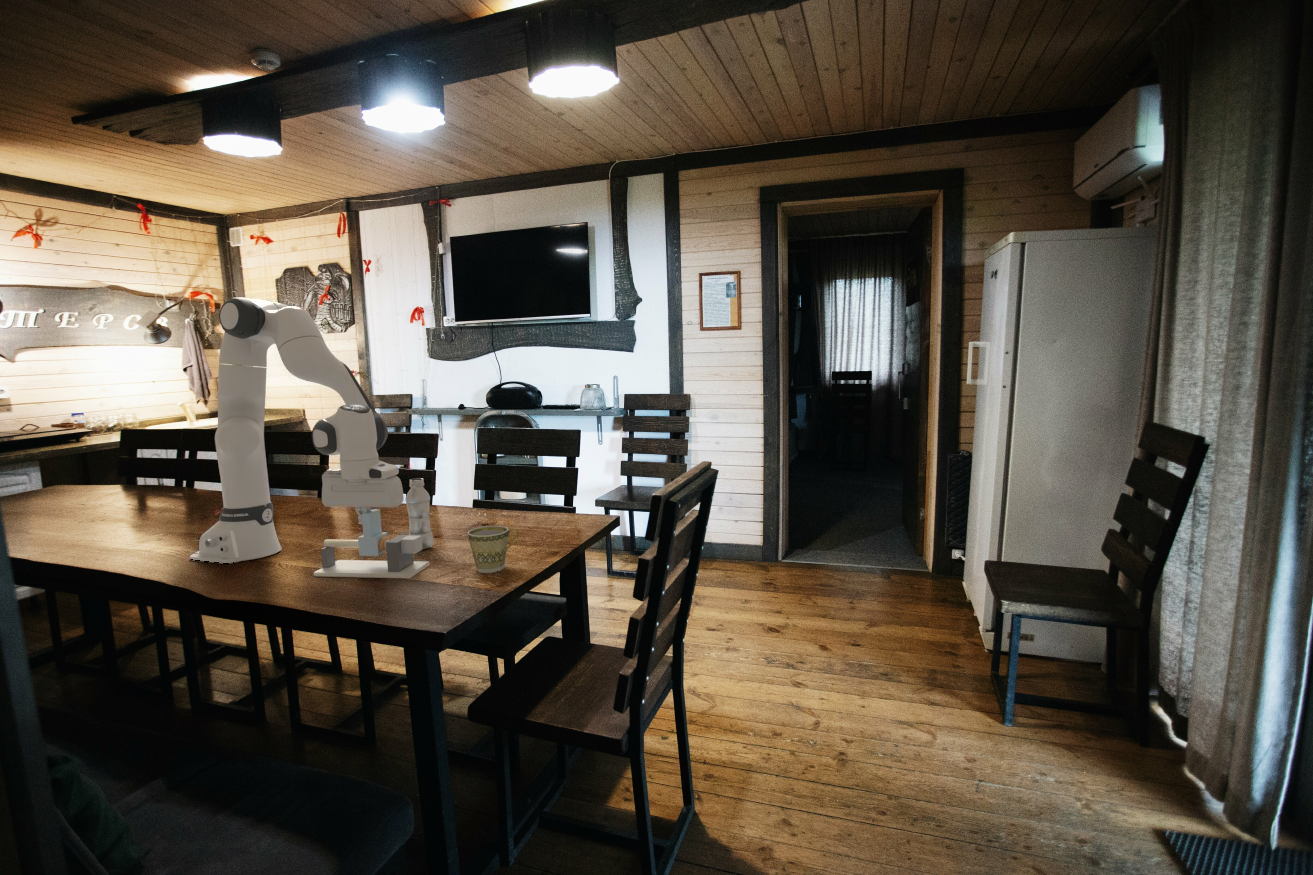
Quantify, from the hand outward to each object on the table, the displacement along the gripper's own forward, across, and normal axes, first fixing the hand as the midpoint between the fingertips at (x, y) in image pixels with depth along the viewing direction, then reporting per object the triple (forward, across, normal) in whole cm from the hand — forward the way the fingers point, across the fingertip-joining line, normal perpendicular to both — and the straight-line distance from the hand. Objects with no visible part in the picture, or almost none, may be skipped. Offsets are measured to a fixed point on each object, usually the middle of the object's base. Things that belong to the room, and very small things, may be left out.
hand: (364, 523), depth 162 cm
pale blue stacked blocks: (+8, +2, 0) cm, 8 cm away
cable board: (+12, +2, 0) cm, 12 cm away
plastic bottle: (+13, +5, +19) cm, 23 cm away
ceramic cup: (+12, +33, +4) cm, 35 cm away
